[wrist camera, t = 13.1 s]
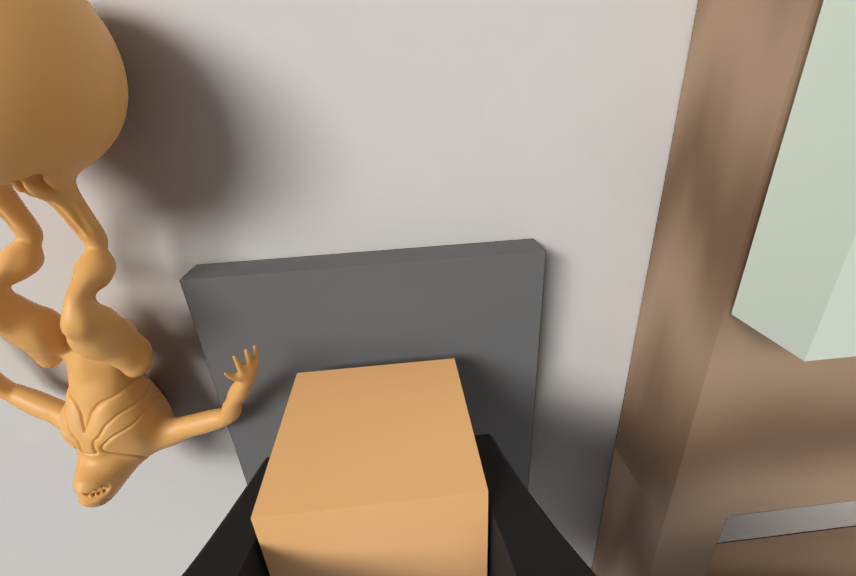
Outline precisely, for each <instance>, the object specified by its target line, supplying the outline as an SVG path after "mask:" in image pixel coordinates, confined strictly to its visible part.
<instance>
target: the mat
mask: <svg viewBox="0 0 856 576" xmlns="http://www.w3.org/2000/svg"><path fill="white" fill-rule="evenodd" d="M545 253H546V251H545V250H544V249H543V248H542V247H541V246H540V245H539V244H538V243H537V242H536V241H535V240H534V239H521V240H508V241H495V242H483V243H470V244H457V245H444V246H431V247H419V248H406V249H393V250H380V251H368V252H355V253H342V254H329V255H316V256H304V257H291V258H278V259H265V260H252V261H240V262H227V263H214V264H201V265H196V266H195V267H194V268H193V269H191V270H190V271H189V272H188V273H187V274H186V275H185V276H184V277H183V278H182V279H181V280H180V283H181V286H182V289H183V292H184V295H185V298H186V301H187V304H188V307H189V310H190V313H191V316H192V319H193V322H194V325H195V328H196V331H197V334H198V337H199V340H200V343H201V346H202V349H203V352H204V355H205V358H206V361H207V364H208V367H209V370H210V373H211V376H212V379H213V382H214V385H215V388H216V392H217V395H218V398H219V401H220V404H221V407H222V405H223V403H224V401H225V400H226V398H227V394H228V391H229V389H230V387H231V385H232V384H233V383H234V382H235V381H233V380H230V379H229V378H227V377H226V376H225V375H224V373H225V372H227V373H230V374H235V373H237V372H238V370H237V368H236V365H235V362H234V360H233V356H236V357H237V358H238V359H239V360H240V362H241V363H242V364H244V363H245V353H244V350H245V349H247V350H248V351H249V353H250V355H251V359H252V358H253V347H254V345H256V347H257V351H258V360H259V363H258V369H257V374H256V377H255V380H254V382H253V383H252V386H251V389H250V393H249V395H248V396H247V398H246V399H245V401H244V402H243V405H242V411H241V414H240V416H239V418H238V419H237V420H236V421H234V422H233V423H231V424H229V425H228V428H229V431H230V434H231V437H232V440H233V443H234V446H235V449H236V452H237V455H238V458H239V461H240V464H241V467H242V470H243V473H244V476H245V479H246V482H247V485H248V484H249V482H250V481H251V479H252V478H253V476H254V475H255V473H256V472H257V470H258V469H259V467H260V466H261V464H262V463H263V461H264V460H265V459H266V458H267V457H270V456H271V453H272V450H273V447H274V444H275V440H276V437H277V434H278V431H279V428H280V425H281V422H282V419H283V415H284V412H285V409H286V406H287V403H288V400H289V397H290V394H291V390H292V387H293V384H294V381H295V378H296V375H297V373H302V372H313V371H324V370H334V369H345V368H356V367H366V366H377V365H388V364H398V363H409V362H420V361H430V360H441V359H452V358H455V362H456V366H457V370H458V374H459V378H460V382H461V386H462V390H463V394H464V398H465V402H466V405H467V409H468V413H469V417H470V421H471V425H472V429H473V433H474V435H481V434H490V435H492V436H493V437H494V439H495V441H496V442H497V444H498V446H499V448H500V449H501V451H502V453H503V454H504V456H505V458H506V459H507V461H508V462H509V464H510V465H511V467H512V468H513V470H514V471H515V473H516V474H517V476H518V477H519V479H520V480H521V482H522V483H523V485H524V486H525V487H526V489H527V490H528V483H529V470H530V456H531V442H532V429H533V415H534V402H535V388H536V375H537V361H538V347H539V334H540V320H541V307H542V293H543V280H544V266H545Z"/></svg>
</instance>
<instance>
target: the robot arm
mask: <svg viewBox="0 0 856 576" xmlns="http://www.w3.org/2000/svg"><path fill="white" fill-rule="evenodd" d="M474 437H475V441H476V445H477V449H478V453H479V457H480V460H481V464H482V468H483V472H484V476H485V480H486V484H487V488H488V549H487V576H596V574H595V573H594V572H593V571H592V570H591V569H590V568H589V567H588V565H587V564H586V563H585V562H584V561H583V560H582V559H581V557H580V556H579V555H578V554H577V553H576V552H575V550H574V549H573V548H572V547H571V546H570V544H569V543H568V542H567V541H566V540H565V538H564V537H563V536H562V535H561V534H560V532H559V531H558V530H557V529H556V527H555V526H554V525H553V523H552V522H551V521H550V520H549V518H548V517H547V516H546V514H545V513H544V512H543V510H542V509H541V508H540V506H539V505H538V504H537V502H536V501H535V500H534V498H533V497H532V496H531V494H530V493H529V492H528V490H527V489H526V487H525V486H524V485H523V483H522V482H521V480H520V479H519V477H518V476H517V474H516V473H515V471H514V470H513V468H512V467H511V465H510V464H509V462H508V461H507V459H506V458H505V456H504V454H503V453H502V451H501V449H500V448H499V446H498V444H497V442H496V441H495V439H494V437H493V436H492V435H490V434H481V435H474ZM269 459H270V457H267V458H266V459H265V460H264V461H263V463H262V464H261V466H260V467H259V469H258V470H257V472H256V473H255V475H254V476H253V478H252V479H251V481H250V482H249V484H248V485H247V487H246V488H245V490H244V491H243V493H242V494H241V495H240V497H239V498H238V500H237V501H236V503H235V504H234V506H233V507H232V509H231V510H230V511H229V513H228V514H227V516H226V517H225V519H224V520H223V521H222V523H221V524H220V525H219V527H218V528H217V530H216V531H215V532H214V534H213V535H212V537H211V538H210V539H209V541H208V542H207V543H206V545H205V546H204V548H203V549H202V550H201V552H200V553H199V554H198V556H197V557H196V558H195V560H194V561H193V562H192V563H191V565H190V566H189V567H188V569H187V570H186V571H185V572H184V574H183V575H182V576H270V573H269V571H268V568H267V565H266V562H265V559H264V556H263V553H262V550H261V547H260V544H259V541H258V539H257V536H256V533H255V530H254V527H253V524H252V521H251V515H252V512H253V509H254V506H255V503H256V500H257V497H258V494H259V490H260V487H261V484H262V481H263V478H264V475H265V472H266V469H267V465H268V462H269Z"/></svg>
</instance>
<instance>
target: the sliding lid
mask: <svg viewBox="0 0 856 576" xmlns="http://www.w3.org/2000/svg"><path fill="white" fill-rule="evenodd" d="M732 315H733V316H735V317H736V318H738V319H739V320H741V321H742V322H744V323H746V324H747V325H749V326H750V327H752V328H753V329H755V330H756V331H758V332H760V333H761V334H763V335H764V336H766V337H767V338H769V339H770V340H772V341H774V342H775V343H777V344H778V345H780V346H781V347H783V348H784V349H786V350H788V351H789V352H791V353H792V354H794V355H795V356H797V357H798V358H800V359H801V360H803V361H814V360H823V359H833V358H843V357H853V356H856V0H824V1H823V4H822V8H821V11H820V15H819V18H818V21H817V25H816V28H815V32H814V35H813V38H812V42H811V45H810V49H809V52H808V55H807V59H806V62H805V66H804V69H803V72H802V76H801V79H800V83H799V86H798V89H797V93H796V96H795V100H794V103H793V106H792V110H791V113H790V117H789V120H788V123H787V127H786V130H785V134H784V137H783V140H782V144H781V147H780V151H779V154H778V157H777V161H776V164H775V168H774V171H773V174H772V178H771V181H770V185H769V188H768V191H767V195H766V198H765V202H764V205H763V208H762V212H761V215H760V219H759V222H758V225H757V229H756V232H755V236H754V239H753V242H752V246H751V249H750V253H749V256H748V259H747V263H746V266H745V270H744V273H743V276H742V280H741V283H740V287H739V290H738V293H737V297H736V300H735V304H734V307H733V310H732Z"/></svg>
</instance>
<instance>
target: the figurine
mask: <svg viewBox="0 0 856 576" xmlns="http://www.w3.org/2000/svg"><path fill="white" fill-rule="evenodd" d="M127 107H128V83H127V76H126V71H125V67H124V64H123V61H122V58H121V55H120V52H119V50H118V48H117V45H116V43H115V41H114V39H113V37H112V36H111V34H110V32H109V30H108V29H107V27H106V25H105V24H104V22H103V21H102V19H101V18H100V17H99V15H98V14H97V12H96V11H95V10H94V9H93V7H92V6H91V5H90V4H89V2H88V1H87V0H0V217H1V218H2V219H3V220H4V221H5V222H6V223H7V224H8V226H9V227H10V229H11V230H12V231H13V233H14V234H15V236H16V239H15V240H14V241H13V242H12V243H11V244H9V245H7V246H6V247H5V248H3V249H2V250H1V251H0V336H1V337H3V338H4V339H6V340H7V341H9V342H10V343H11V344H13V345H14V346H16V347H18V348H19V349H21V350H24V351H25V352H26V353H27V354H28V355H29V356H30V357H31V358H33V359H34V360H35V362H36V363H37V364H38V365H40V366H41V367H44V368H52V367H55V366H57V365H58V364H59V363H60V362H61V361H62V359H63V360H64V362H65V363H66V366H67V371H68V382H69V387H68V389H67V392H66V402H65V401H63V400H61V399H58V398H56V397H53V396H51V395H49V394H46V393H44V392H41V391H38V390H36V389H33V388H30V387H26V386H23V385H19V384H16V383H14V382H12V381H11V380H9V379H8V378H7V377H5V376H4V375H3V374H1V373H0V398H2V399H4V400H6V401H8V402H9V403H11V404H12V405H14V406H16V407H17V408H19V409H21V410H23V411H25V412H27V413H28V414H30V415H32V416H34V417H37V418H39V419H42V420H45V421H47V422H49V423H51V424H53V425H54V426H56V427H57V428H58V429H59V430H60V432H61V434H62V437H63V438H64V440H65V441H66V442H67V443H68V444H69V445H70V446H71V447H73V448H77V450H76V451H77V453H78V460H77V465H76V471H75V476H74V480H73V488H74V491H75V492H76V493H77V494H78V501H79V502H80V504H82V505H83V506H86V507H98V506H101V505H103V504H105V503H107V502H108V501H109V500H111V499H112V498H113V497H114V496H115V495H116V493H117V492H118V491H119V490H120V488H121V487H122V486H123V484H124V483H125V482H126V480H127V479H128V478H129V476H130V475H131V474H132V473H133V472H134V470H135V469H136V468H137V467H138V466H139V465H140V464H141V463H142V462H143V461H144V460H145V459H147V458H148V457H149V456H150V455H152V454H153V453H155V452H157V451H159V450H161V449H164V448H167V447H170V446H173V445H176V444H178V443H180V442H182V441H184V440H186V439H188V438H190V437H193V436H197V435H202V434H206V433H209V432H212V431H215V430H218V429H220V428H223V427H225V426H228V425H229V424H231V423H233V422H234V421H236V420H237V419H238V418H239V416H240V414H241V411H242V405H243V402H244V401H245V399H246V398H247V396H248V395H249V393H250V389H251V386H252V383H253V382H254V380H255V377H256V374H257V369H258V363H259V360H258V351H257V347H256V345H254V347H253V358H252V359H251V355H250V353H249V351H248V350H247V349H245V350H244V353H245V363H244V364H242V363H241V362H240V360H239V359H238V358H237V357H236V356H233V360H234V362H235V365H236V368H237V370H238V372H237V373H235V374H230V373H227V372H225V373H224V375H225V376H226V377H227V378H229V379H230V380H233V381H235V382H234V383H233V384H232V385H231V387H230V389H229V391H228V394H227V398H226V400H225V401H224V403H223V405H222V408H217V409H211V410H206V411H202V412H198V413H194V414H189V415H186V416H181V417H175V416H174V414H173V411H172V409H171V407H170V405H169V403H168V401H167V399H166V398H165V396H164V395H163V394H162V392H161V391H160V390H159V389H158V388H157V386H156V385H155V384H154V383H153V382H152V381H151V380H150V379H147V375H146V374H144V373H145V372H146V371H147V370H148V369H149V367H150V365H151V362H152V356H153V353H152V347H151V344H150V342H149V341H148V340H147V339H146V338H145V337H144V336H142V335H141V334H140V333H139V332H138V330H137V328H136V326H135V324H134V323H133V322H132V321H130V320H128V319H125V318H122V317H121V316H120V315H119V314H118V313H117V312H115V311H114V310H113V309H111V308H110V307H107V306H105V305H102V304H100V303H99V302H98V301H97V300H96V294H97V292H98V291H99V290H100V289H102V288H104V287H105V286H106V285H107V284H108V283H109V282H110V281H111V280H112V278H113V276H114V274H115V271H116V262H115V260H114V258H113V256H112V255H111V253H110V252H109V250H108V239H107V236H106V233H105V231H104V230H103V228H102V226H101V225H100V223H99V222H98V220H97V219H96V217H95V216H94V214H93V212H92V211H91V209H90V208H89V206H88V205H87V203H86V202H85V200H84V198H83V197H82V195H81V193H80V192H79V189H78V187H77V184H76V178H77V176H78V174H79V173H80V172H81V171H82V170H83V169H85V168H86V167H88V166H89V165H91V164H92V163H94V162H95V161H96V160H98V159H99V158H100V157H101V156H102V155H103V154H104V153H105V152H106V151H107V150H108V149H109V148H110V147H111V146H112V144H113V143H114V141H115V140H116V138H117V137H118V135H119V133H120V131H121V129H122V126H123V124H124V121H125V117H126V113H127ZM12 186H13V187H14V188H15V189H16V190H17V191H19V192H24V193H26V194H28V195H30V196H33V197H37V198H39V199H42V200H44V201H46V202H47V203H49V204H50V205H51V206H52V207H53V208H54V209H55V210H56V211H57V212H58V213H59V214H60V215H61V217H62V218H63V219H64V220H65V221H66V222H67V224H68V225H69V226H70V227H71V228H72V230H73V231H74V232H75V233H76V234H77V236H78V237H79V238H80V239H81V240H82V241H83V243H84V245H85V251H84V253H83V254H82V255H81V257H80V258H79V259H78V260H77V262H76V263H75V265H74V268H73V276H72V279H71V282H70V284H69V287H68V289H67V292H66V295H65V298H64V303H63V309H62V313H61V315H60V314H59V313H57V312H56V311H54V310H53V309H50V308H48V307H45V306H41V305H39V304H37V303H34V302H32V301H30V300H28V299H26V298H25V297H23V296H21V295H19V294H16V293H15V292H14V291H13V290H12V289H11V286H12V285H13V284H15V283H18V282H20V281H22V280H24V279H26V278H28V277H30V276H31V275H33V274H34V273H36V272H37V271H38V270H39V269H40V268H41V266H42V265H43V263H44V253H43V249H42V241H43V231H42V229H41V227H40V225H39V224H38V222H37V221H36V219H35V218H34V217H33V215H32V214H31V213H30V211H29V210H28V208H27V207H26V206H25V204H24V203H23V201H22V200H21V198H20V197H19V196H18V194H17V193H16V191H15V190H14V189H13V187H12Z"/></svg>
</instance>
